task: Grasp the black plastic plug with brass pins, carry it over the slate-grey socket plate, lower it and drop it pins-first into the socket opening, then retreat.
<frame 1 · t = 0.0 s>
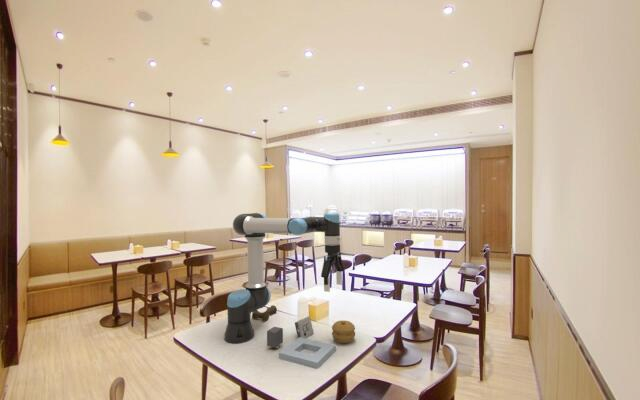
hand: (333, 287, 150), 28 cm above the table, fingers open, 13 cm apart
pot: (343, 341, 155), on the table
socket plate: (307, 354, 142), on the table
kendama: (264, 318, 189), on the table
plug: (275, 347, 149), on the table
electrical switch: (304, 336, 162), on the table
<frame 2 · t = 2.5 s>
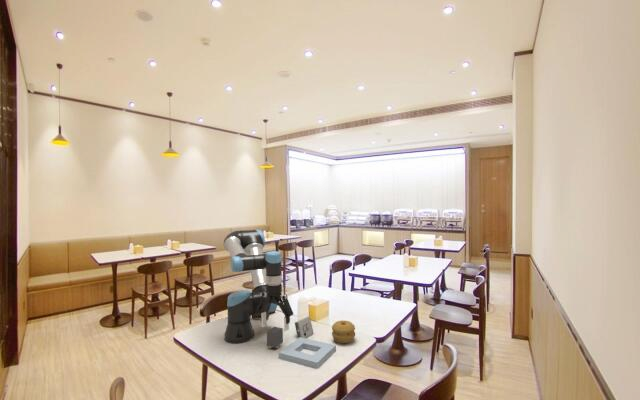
hand: (275, 328, 149), 9 cm above the table, fingers open, 13 cm apart
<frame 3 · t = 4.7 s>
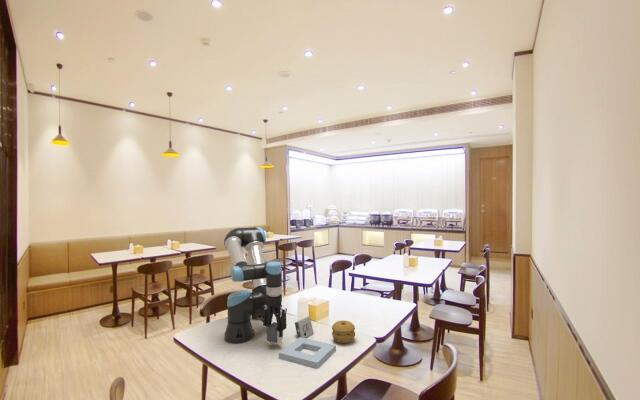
hand: (274, 341, 150), 2 cm above the table, fingers closed on plug, 5 cm apart
plug: (274, 342, 150), point 2 cm above the table, touching gripper
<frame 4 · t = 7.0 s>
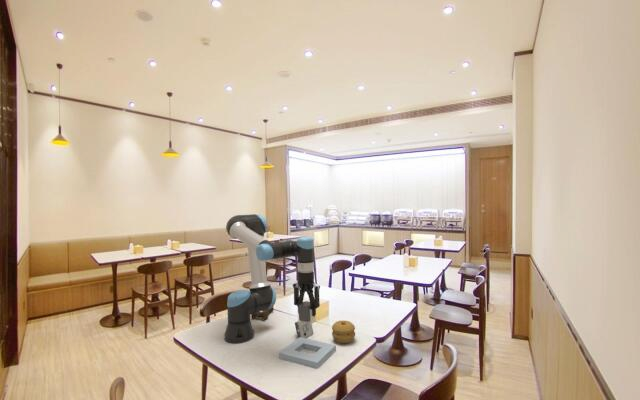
hand: (307, 321, 142), 15 cm above the table, fingers closed on plug, 5 cm apart
plug: (307, 322, 142), point 15 cm above the table, touching gripper
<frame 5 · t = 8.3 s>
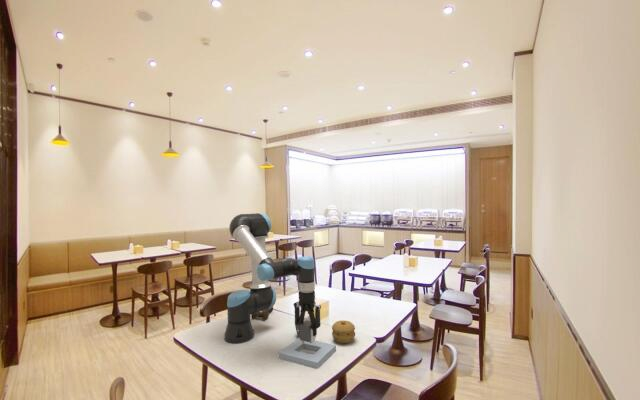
hand: (307, 341, 142), 6 cm above the table, fingers closed on plug, 5 cm apart
plug: (307, 341, 142), point 6 cm above the table, touching gripper
when the fingers open (2 cm above the table, at t = 9.3 s): plug drops 2 cm, resting in socket plate.
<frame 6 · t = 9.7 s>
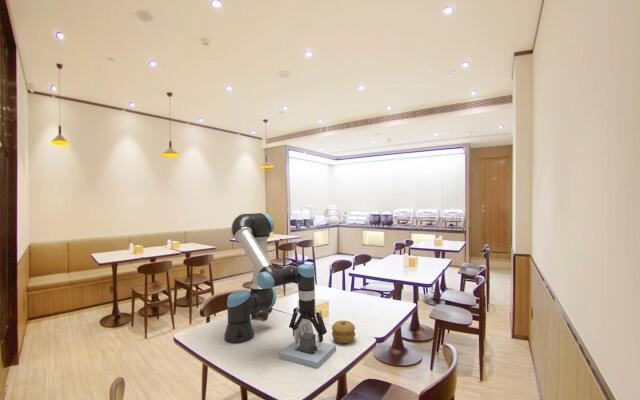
hand: (307, 346, 142), 4 cm above the table, fingers open, 11 cm apart
plug: (308, 354, 142), resting in socket plate
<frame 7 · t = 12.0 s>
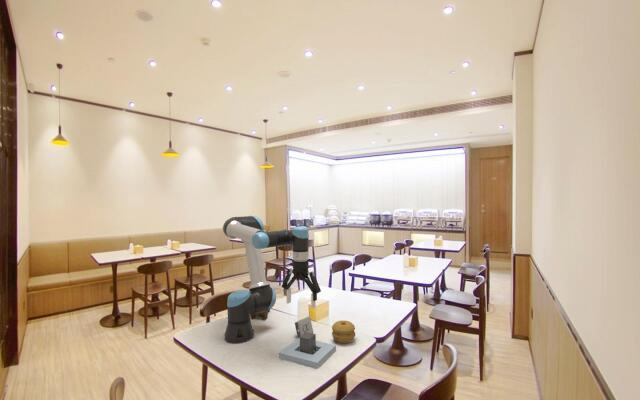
hand: (300, 305, 145), 22 cm above the table, fingers open, 13 cm apart
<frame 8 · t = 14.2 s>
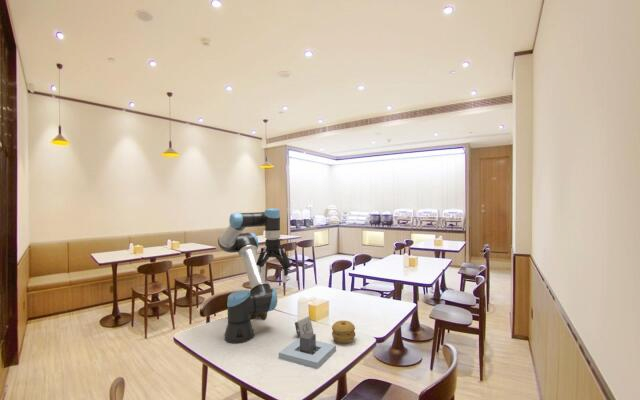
hand: (273, 280, 156), 31 cm above the table, fingers open, 13 cm apart
at the end: plug 0.0 cm off-centre on the socket plate, point 0.0 cm above the socket plate's base; plug tilted 0°; the gripper is holding nothing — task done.
